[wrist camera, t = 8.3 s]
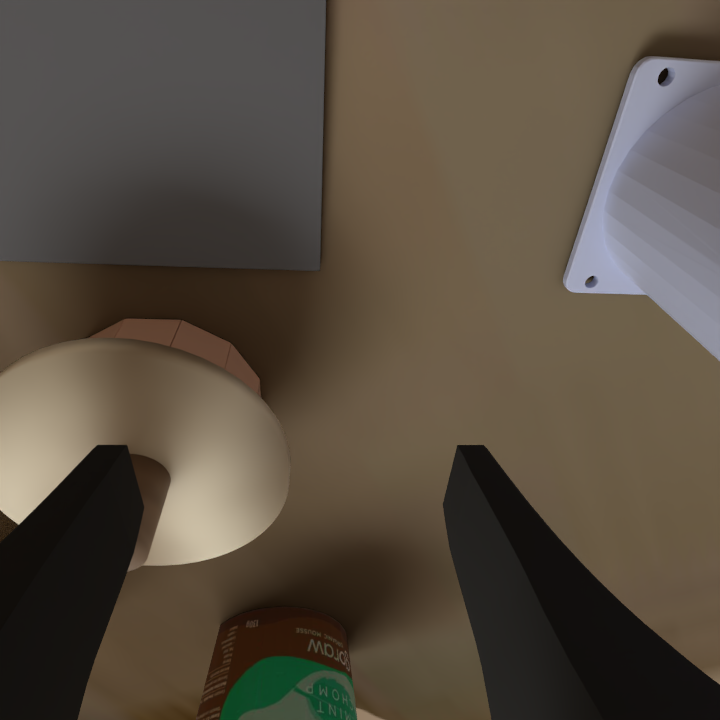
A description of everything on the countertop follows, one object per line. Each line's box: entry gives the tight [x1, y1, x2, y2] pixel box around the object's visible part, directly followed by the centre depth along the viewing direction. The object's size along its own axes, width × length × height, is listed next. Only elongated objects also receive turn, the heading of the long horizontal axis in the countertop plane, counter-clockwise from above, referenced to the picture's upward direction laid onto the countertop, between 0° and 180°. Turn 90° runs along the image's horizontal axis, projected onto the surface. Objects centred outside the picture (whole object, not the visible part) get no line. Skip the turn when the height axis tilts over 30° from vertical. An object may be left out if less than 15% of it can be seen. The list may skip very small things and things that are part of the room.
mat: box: [0, 0, 326, 271], centre depth 15 cm, size 13×13×1 cm
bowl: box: [89, 319, 261, 397], centre depth 21 cm, size 8×8×4 cm
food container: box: [196, 607, 357, 720], centre depth 30 cm, size 12×6×10 cm, turn 50°
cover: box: [0, 338, 291, 571], centre depth 17 cm, size 11×11×4 cm
